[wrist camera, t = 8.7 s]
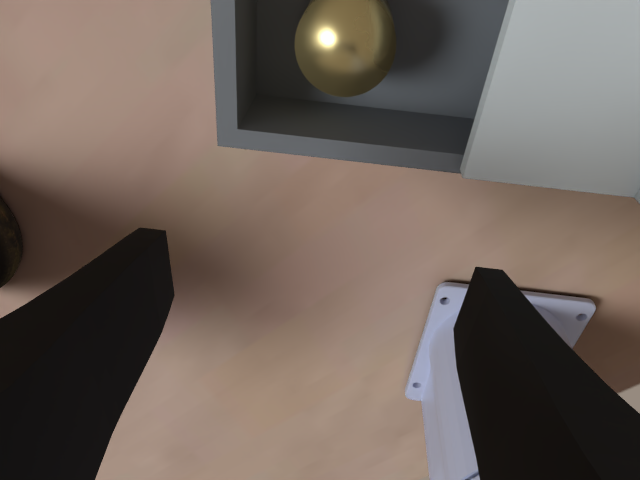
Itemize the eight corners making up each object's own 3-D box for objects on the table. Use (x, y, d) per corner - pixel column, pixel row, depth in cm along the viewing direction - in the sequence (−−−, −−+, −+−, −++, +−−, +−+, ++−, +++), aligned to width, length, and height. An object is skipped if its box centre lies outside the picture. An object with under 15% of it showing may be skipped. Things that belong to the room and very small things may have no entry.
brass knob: (385, 77, 18) (387, 102, 16) (301, 68, 18) (292, 91, 16) (400, -18, 16) (405, -4, 14) (306, -28, 16) (297, -15, 14)
